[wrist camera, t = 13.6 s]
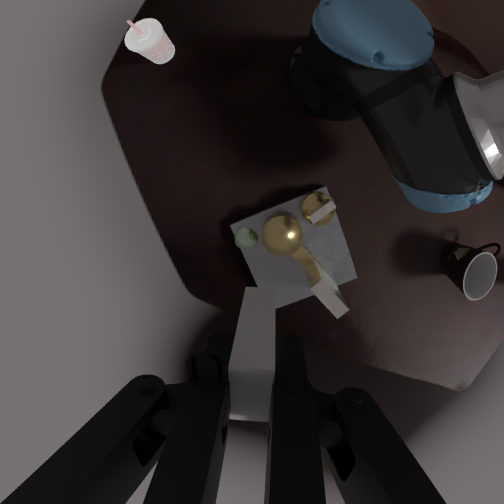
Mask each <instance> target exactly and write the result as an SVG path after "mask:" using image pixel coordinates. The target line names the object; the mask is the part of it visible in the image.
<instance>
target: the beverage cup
mask: <svg viewBox="0 0 504 504" xmlns="http://www.w3.org/2000/svg"><path fill="white" fill-rule="evenodd" d="M127 23H128V24H129V25H130V26H131V27H130V29H129V30H128V32H127V33H126V36H125V45H126V47H127V48H128V49H129V50H131V51H134V52H137V53H139V54H141V55H142V56H144V57H146V58H147V59H149V60H151V61H152V62H154V63H157V64H163V63H166V62H168V61H169V60H170V59H172V57H173V56H174V53H175V48H174V45H173V44H172V42H171V41H170V39H169V38H168V36H167V35H166V33H165V32H164V31H163V28H162V25H161V24H160V23H159V22H158V21H157V20H156V19H152V18H147V19H142V20H140V21H138V22H136V23H135V24H133V23H132V22H131V21H130V20H128V21H127Z"/></svg>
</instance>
